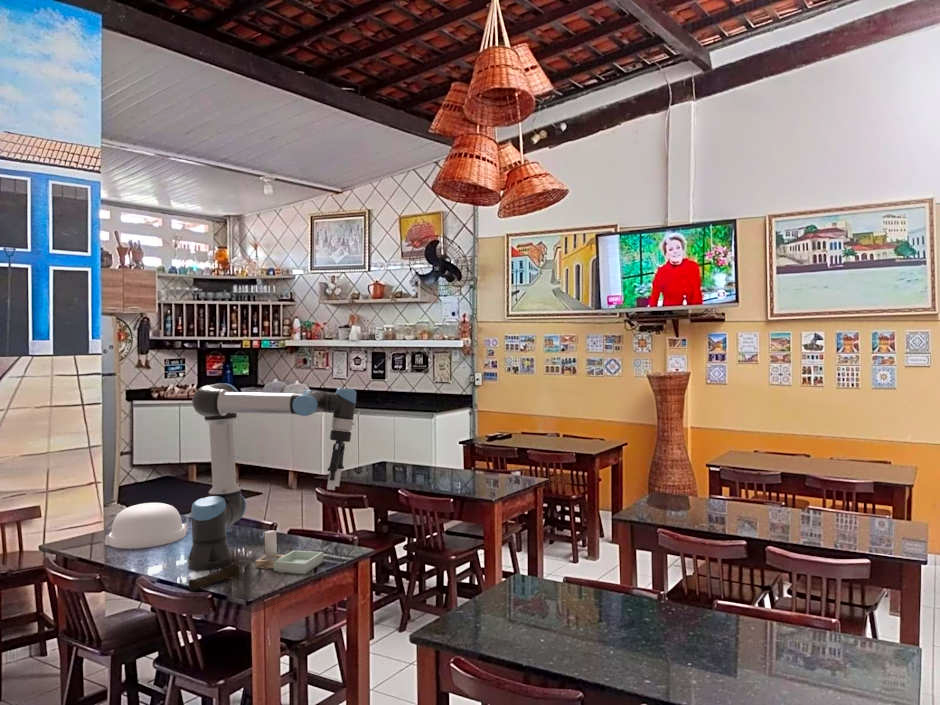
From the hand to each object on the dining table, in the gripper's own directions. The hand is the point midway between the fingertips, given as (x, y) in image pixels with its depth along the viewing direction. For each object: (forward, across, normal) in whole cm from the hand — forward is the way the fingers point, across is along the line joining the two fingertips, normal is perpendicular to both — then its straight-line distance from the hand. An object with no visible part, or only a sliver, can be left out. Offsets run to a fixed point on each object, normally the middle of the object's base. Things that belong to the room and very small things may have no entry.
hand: (333, 488), depth 274 cm
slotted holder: (+29, -3, +18) cm, 34 cm away
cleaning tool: (+29, -3, +18) cm, 34 cm away
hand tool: (+34, -20, +32) cm, 51 cm away
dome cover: (+34, +42, +78) cm, 95 cm away
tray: (+28, -6, +7) cm, 30 cm away
